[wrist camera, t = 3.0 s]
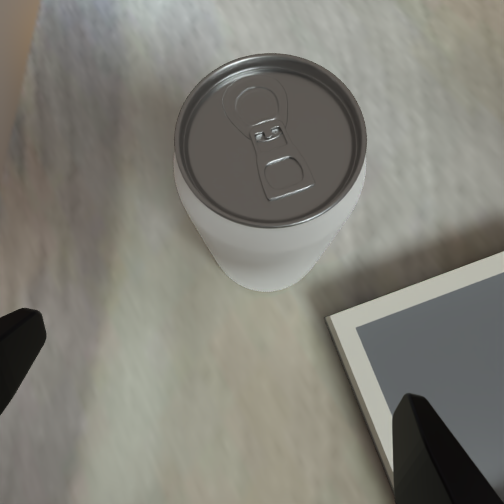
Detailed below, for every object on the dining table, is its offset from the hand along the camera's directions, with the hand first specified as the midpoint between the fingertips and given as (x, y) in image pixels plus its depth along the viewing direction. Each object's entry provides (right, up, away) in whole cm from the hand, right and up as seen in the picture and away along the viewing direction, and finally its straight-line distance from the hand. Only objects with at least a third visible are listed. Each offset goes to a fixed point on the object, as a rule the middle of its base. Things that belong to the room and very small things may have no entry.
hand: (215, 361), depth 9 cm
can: (+2, +3, +14) cm, 14 cm away
